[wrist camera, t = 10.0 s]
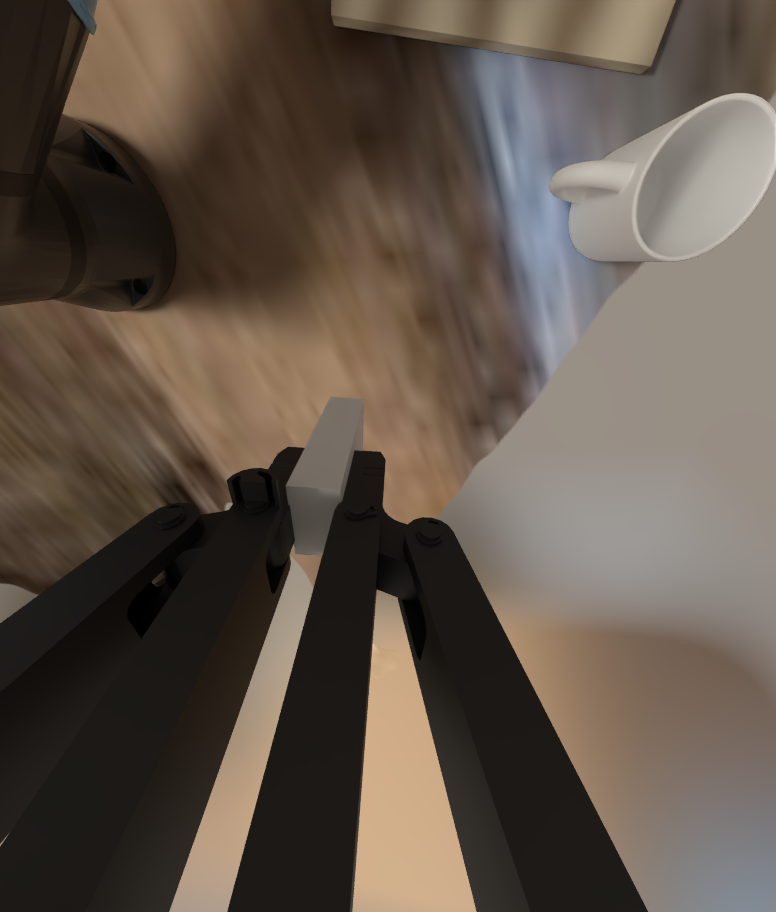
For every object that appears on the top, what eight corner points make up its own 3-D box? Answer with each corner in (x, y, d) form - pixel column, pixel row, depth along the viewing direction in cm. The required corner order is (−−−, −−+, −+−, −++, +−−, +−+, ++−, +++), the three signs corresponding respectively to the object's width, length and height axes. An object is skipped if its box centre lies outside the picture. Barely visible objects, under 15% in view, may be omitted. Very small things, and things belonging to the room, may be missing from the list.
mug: (513, 242, 31) (557, 235, 22) (552, 125, 26) (627, 57, 18) (628, 269, 31) (715, 273, 23) (684, 159, 27) (819, 111, 18)
